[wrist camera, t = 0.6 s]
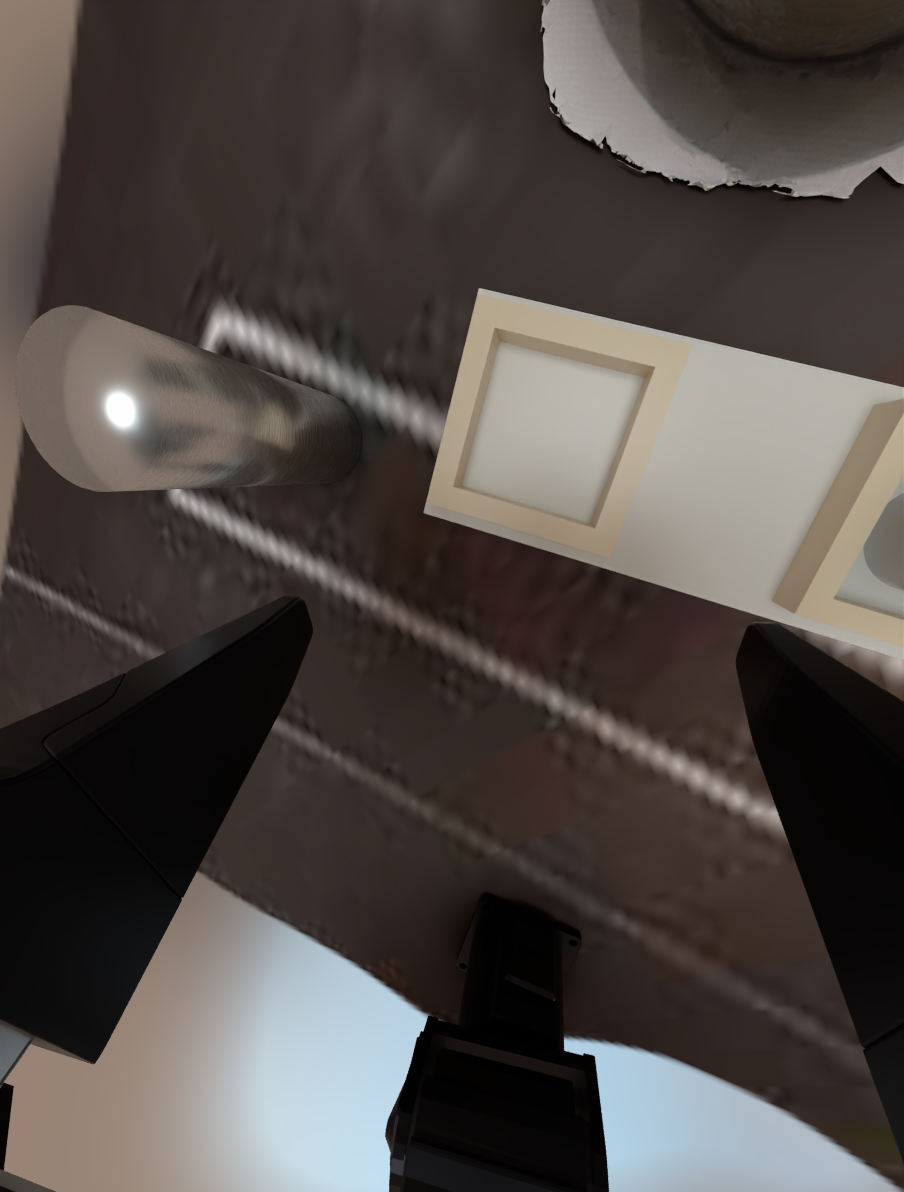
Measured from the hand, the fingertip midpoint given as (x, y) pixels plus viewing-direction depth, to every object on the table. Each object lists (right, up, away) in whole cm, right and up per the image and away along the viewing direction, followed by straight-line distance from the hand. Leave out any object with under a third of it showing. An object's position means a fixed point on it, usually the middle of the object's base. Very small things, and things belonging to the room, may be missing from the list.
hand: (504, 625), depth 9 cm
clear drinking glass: (-8, +9, +14) cm, 18 cm away
